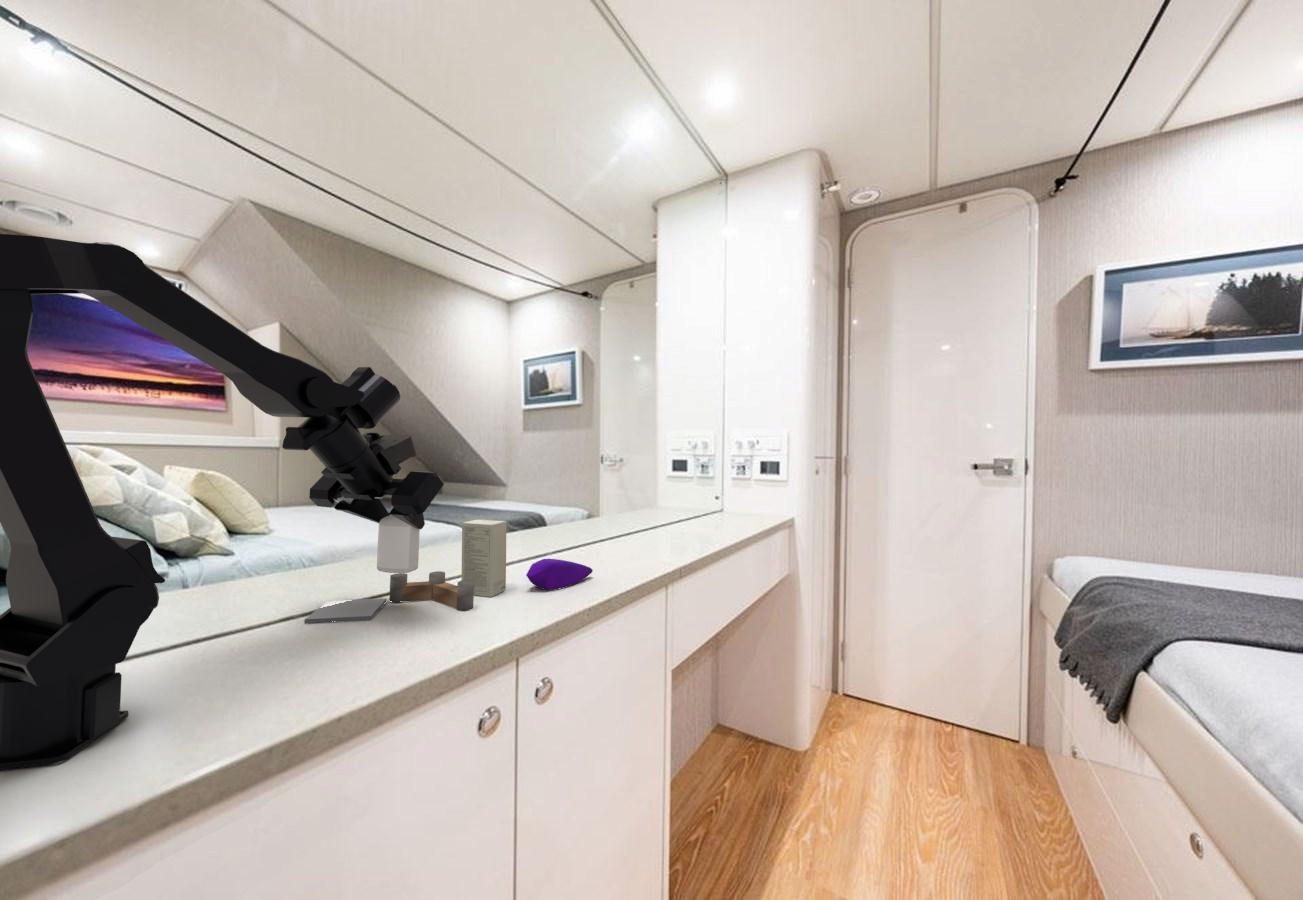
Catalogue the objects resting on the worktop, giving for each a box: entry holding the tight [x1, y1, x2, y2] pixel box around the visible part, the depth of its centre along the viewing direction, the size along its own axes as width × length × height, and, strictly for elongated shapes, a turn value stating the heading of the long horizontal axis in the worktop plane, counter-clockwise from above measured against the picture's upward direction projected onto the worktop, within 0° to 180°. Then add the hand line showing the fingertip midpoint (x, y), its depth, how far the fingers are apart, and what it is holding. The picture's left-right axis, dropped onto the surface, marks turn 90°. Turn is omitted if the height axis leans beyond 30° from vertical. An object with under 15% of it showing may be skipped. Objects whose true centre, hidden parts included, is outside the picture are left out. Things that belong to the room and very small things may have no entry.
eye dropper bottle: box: [376, 504, 421, 574], centre depth 71 cm, size 4×6×12 cm
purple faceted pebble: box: [526, 558, 593, 591], centre depth 86 cm, size 5×5×15 cm
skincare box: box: [460, 518, 507, 598], centre depth 80 cm, size 6×4×12 cm
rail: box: [389, 570, 475, 612], centre depth 73 cm, size 13×8×4 cm, turn 106°
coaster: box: [304, 597, 388, 624], centre depth 68 cm, size 8×8×1 cm
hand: (406, 525), depth 72 cm, fingers closed on eye dropper bottle, 6 cm apart
